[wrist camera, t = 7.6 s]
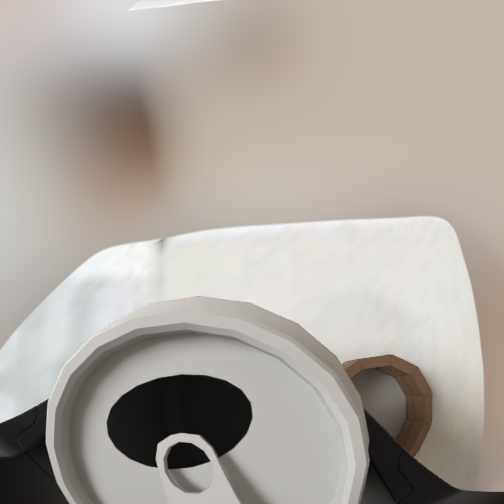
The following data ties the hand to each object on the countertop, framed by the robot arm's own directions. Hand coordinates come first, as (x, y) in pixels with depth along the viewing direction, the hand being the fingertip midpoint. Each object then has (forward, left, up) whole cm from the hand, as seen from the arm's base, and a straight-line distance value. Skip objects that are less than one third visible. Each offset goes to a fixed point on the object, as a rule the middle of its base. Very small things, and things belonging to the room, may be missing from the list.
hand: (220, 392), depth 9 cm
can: (-1, +1, -7) cm, 7 cm away
